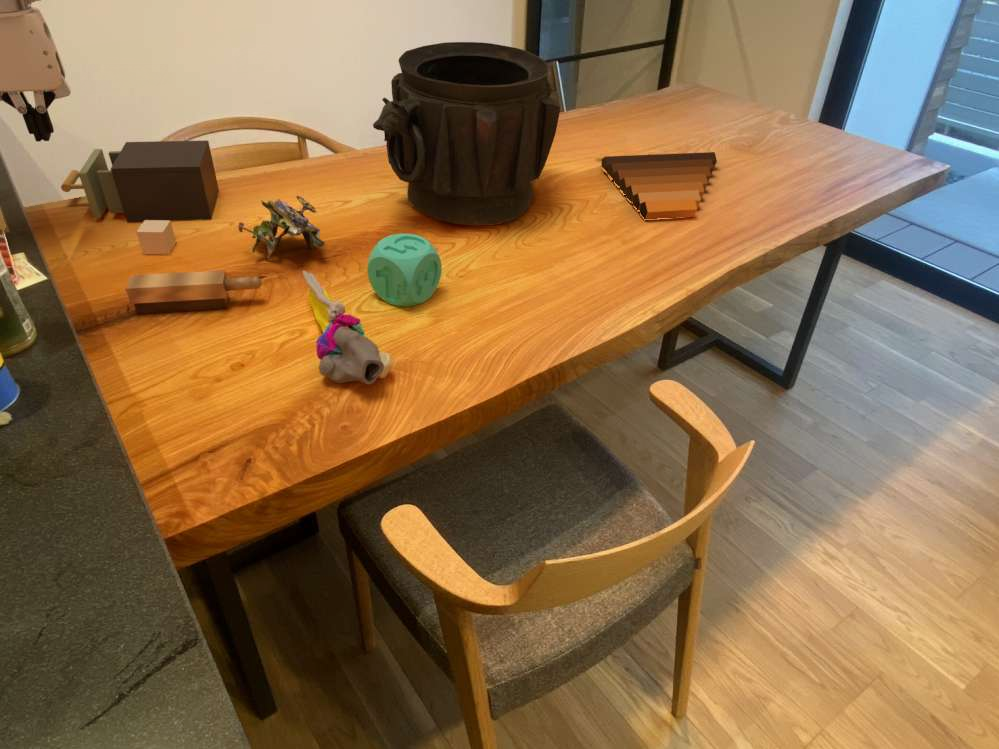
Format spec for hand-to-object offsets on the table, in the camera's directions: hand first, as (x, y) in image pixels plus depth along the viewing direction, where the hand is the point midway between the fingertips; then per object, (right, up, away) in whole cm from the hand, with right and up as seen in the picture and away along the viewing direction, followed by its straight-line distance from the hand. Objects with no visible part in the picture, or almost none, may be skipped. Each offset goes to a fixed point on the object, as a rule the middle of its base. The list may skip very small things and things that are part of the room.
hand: (43, 137), depth 102 cm
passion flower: (+33, -15, +11) cm, 38 cm away
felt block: (+13, -14, +7) cm, 20 cm away
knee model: (+46, -31, -7) cm, 56 cm away
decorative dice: (+53, -23, +3) cm, 58 cm away
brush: (+24, -25, -2) cm, 35 cm away
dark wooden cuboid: (+9, -5, +21) cm, 24 cm away
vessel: (+62, -2, +30) cm, 68 cm away
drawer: (+2, -5, +19) cm, 20 cm away
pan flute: (+104, +2, +38) cm, 111 cm away
